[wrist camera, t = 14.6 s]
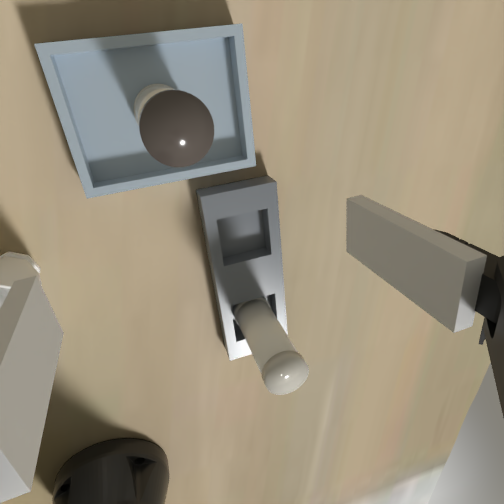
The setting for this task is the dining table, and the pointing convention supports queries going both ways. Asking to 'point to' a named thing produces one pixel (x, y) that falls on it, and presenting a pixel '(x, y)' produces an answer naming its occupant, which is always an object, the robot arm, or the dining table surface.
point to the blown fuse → (173, 125)
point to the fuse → (270, 347)
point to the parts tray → (126, 89)
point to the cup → (15, 271)
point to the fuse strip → (243, 251)
